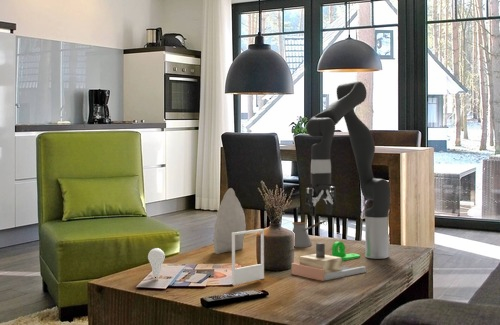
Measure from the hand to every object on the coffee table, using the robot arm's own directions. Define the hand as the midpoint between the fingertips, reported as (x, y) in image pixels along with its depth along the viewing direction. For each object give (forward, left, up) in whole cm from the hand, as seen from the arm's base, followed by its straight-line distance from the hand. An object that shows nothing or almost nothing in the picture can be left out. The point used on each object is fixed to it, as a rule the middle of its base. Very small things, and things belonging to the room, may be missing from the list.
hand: (321, 215), depth 226 cm
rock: (+1, -55, -22) cm, 59 cm away
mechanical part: (-30, -14, -23) cm, 40 cm away
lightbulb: (+50, -35, -22) cm, 65 cm away
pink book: (-5, 0, -22) cm, 23 cm away
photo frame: (+28, -9, -22) cm, 37 cm away
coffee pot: (-32, -39, -22) cm, 56 cm away
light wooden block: (0, 0, -22) cm, 22 cm away
